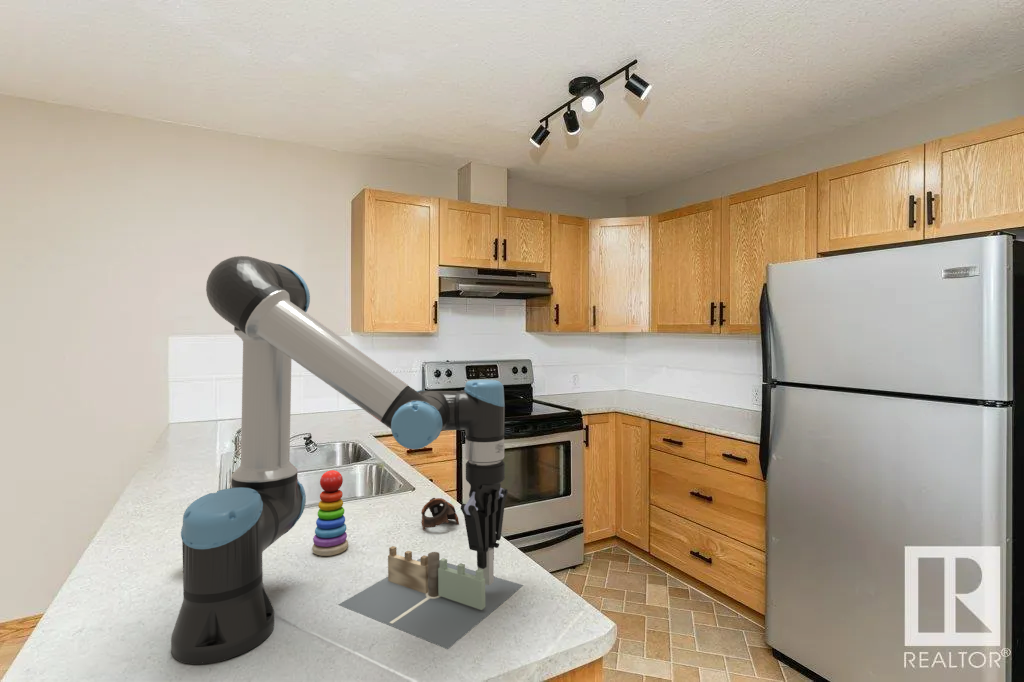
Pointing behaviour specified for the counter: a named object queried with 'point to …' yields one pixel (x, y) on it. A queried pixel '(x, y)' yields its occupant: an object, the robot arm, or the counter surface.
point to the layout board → (427, 609)
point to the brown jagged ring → (438, 513)
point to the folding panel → (461, 585)
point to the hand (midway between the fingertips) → (485, 581)
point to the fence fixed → (414, 571)
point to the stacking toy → (330, 517)
